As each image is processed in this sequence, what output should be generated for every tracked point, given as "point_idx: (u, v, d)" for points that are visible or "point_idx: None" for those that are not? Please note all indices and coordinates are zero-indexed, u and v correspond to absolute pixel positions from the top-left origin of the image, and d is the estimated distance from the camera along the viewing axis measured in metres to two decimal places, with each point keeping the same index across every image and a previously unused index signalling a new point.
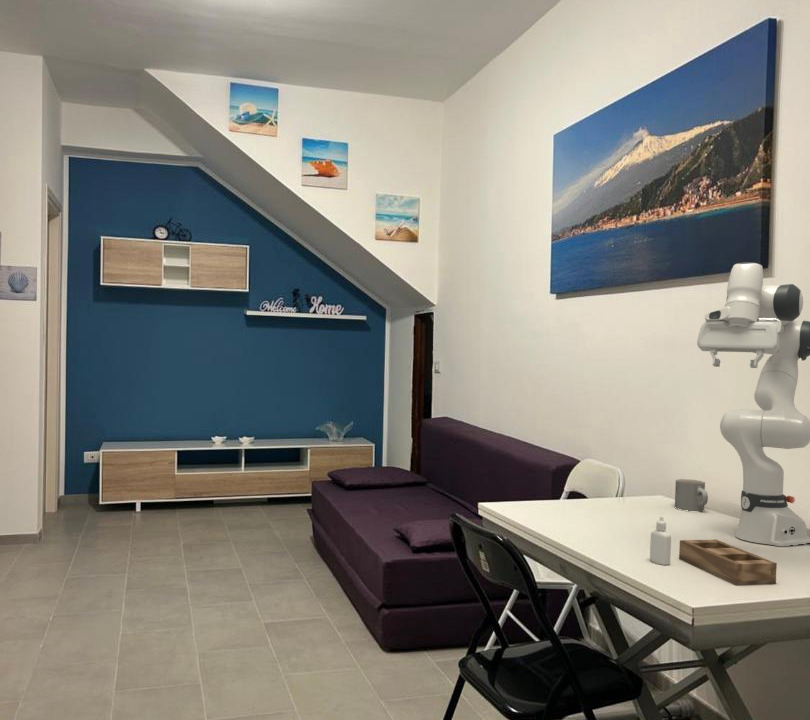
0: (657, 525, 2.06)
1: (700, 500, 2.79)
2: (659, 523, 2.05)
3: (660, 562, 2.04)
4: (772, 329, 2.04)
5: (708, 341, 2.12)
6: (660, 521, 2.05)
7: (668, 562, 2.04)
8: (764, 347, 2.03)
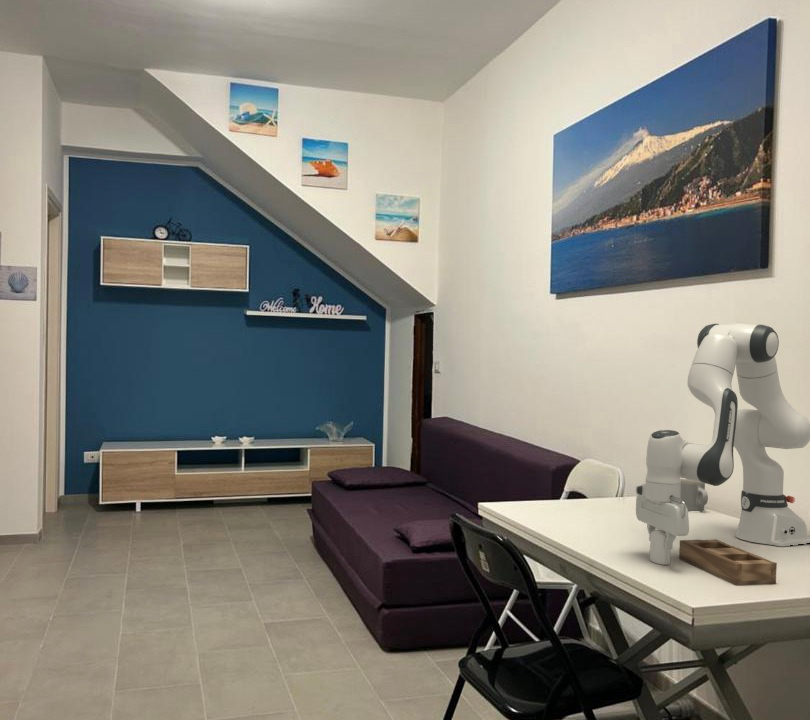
0: None
1: (700, 500, 2.79)
2: None
3: (660, 562, 2.04)
4: (674, 514, 1.97)
5: (641, 515, 2.12)
6: None
7: (668, 562, 2.04)
8: (670, 533, 1.99)
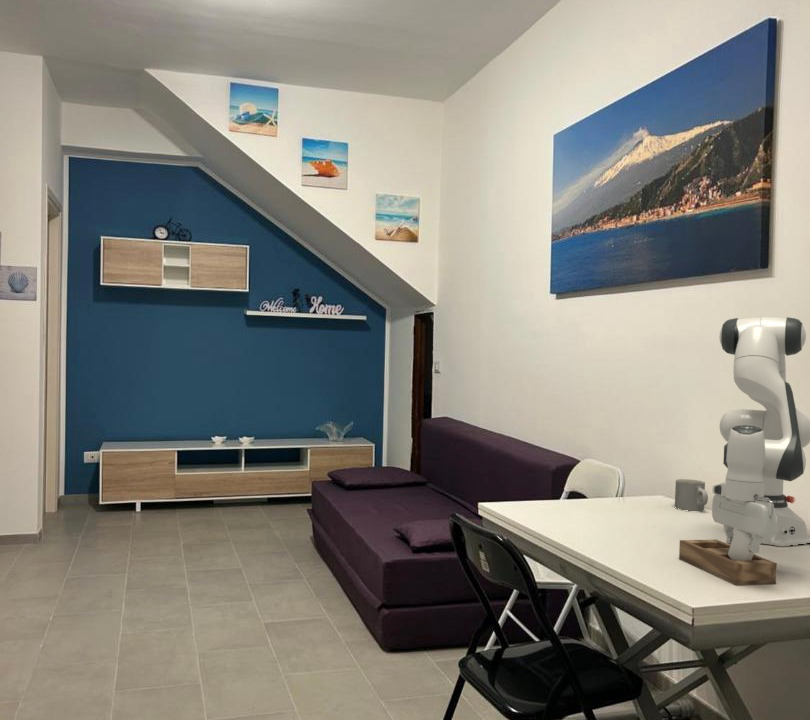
0: None
1: (700, 500, 2.79)
2: None
3: None
4: (760, 513, 1.85)
5: (719, 517, 2.00)
6: None
7: None
8: (756, 534, 1.86)
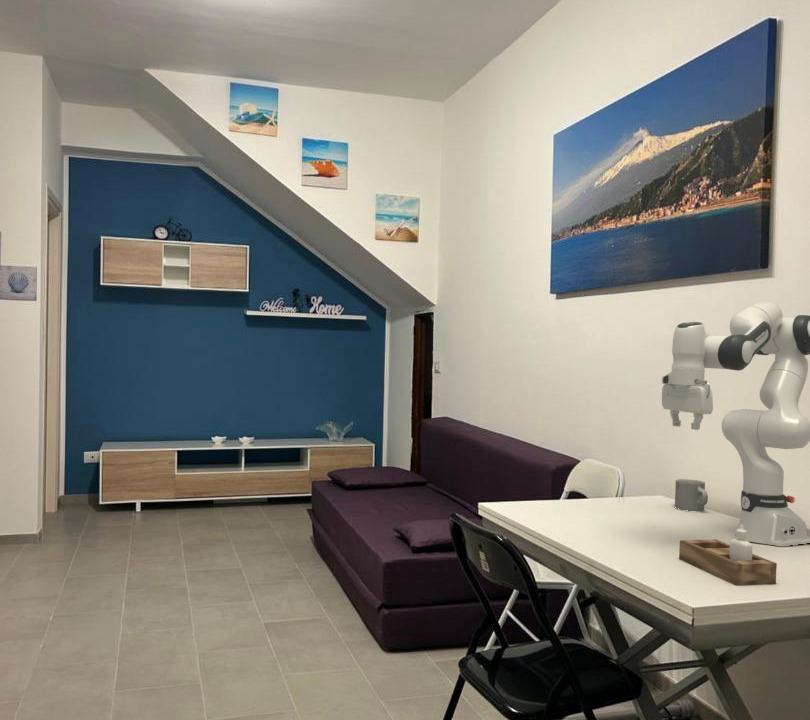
0: (737, 534, 1.94)
1: (700, 500, 2.79)
2: (739, 532, 1.93)
3: None
4: (699, 394, 2.14)
5: (667, 403, 2.29)
6: (740, 529, 1.94)
7: None
8: (695, 412, 2.15)
